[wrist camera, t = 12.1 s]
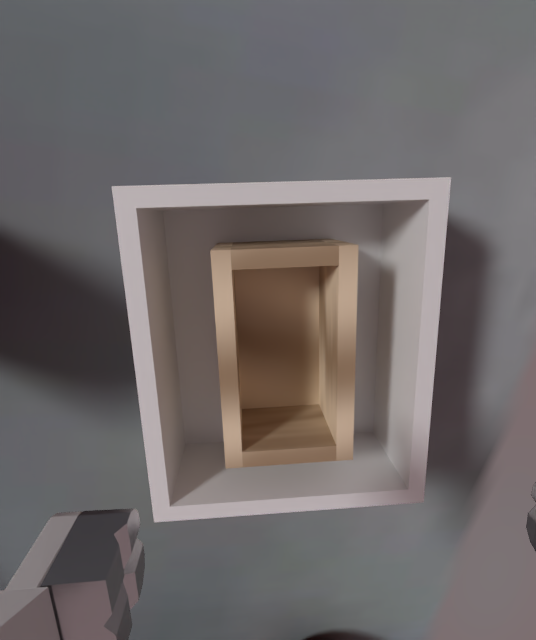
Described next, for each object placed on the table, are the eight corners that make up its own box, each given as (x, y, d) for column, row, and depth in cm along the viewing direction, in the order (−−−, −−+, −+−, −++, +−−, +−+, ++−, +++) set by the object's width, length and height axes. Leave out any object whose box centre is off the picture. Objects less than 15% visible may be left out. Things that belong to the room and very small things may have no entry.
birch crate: (217, 242, 20) (210, 250, 16) (331, 238, 21) (358, 244, 16) (229, 415, 23) (225, 468, 18) (329, 409, 23) (353, 459, 18)
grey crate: (148, 195, 20) (111, 186, 14) (393, 188, 21) (450, 177, 15) (175, 449, 24) (154, 522, 18) (380, 435, 25) (423, 502, 19)
